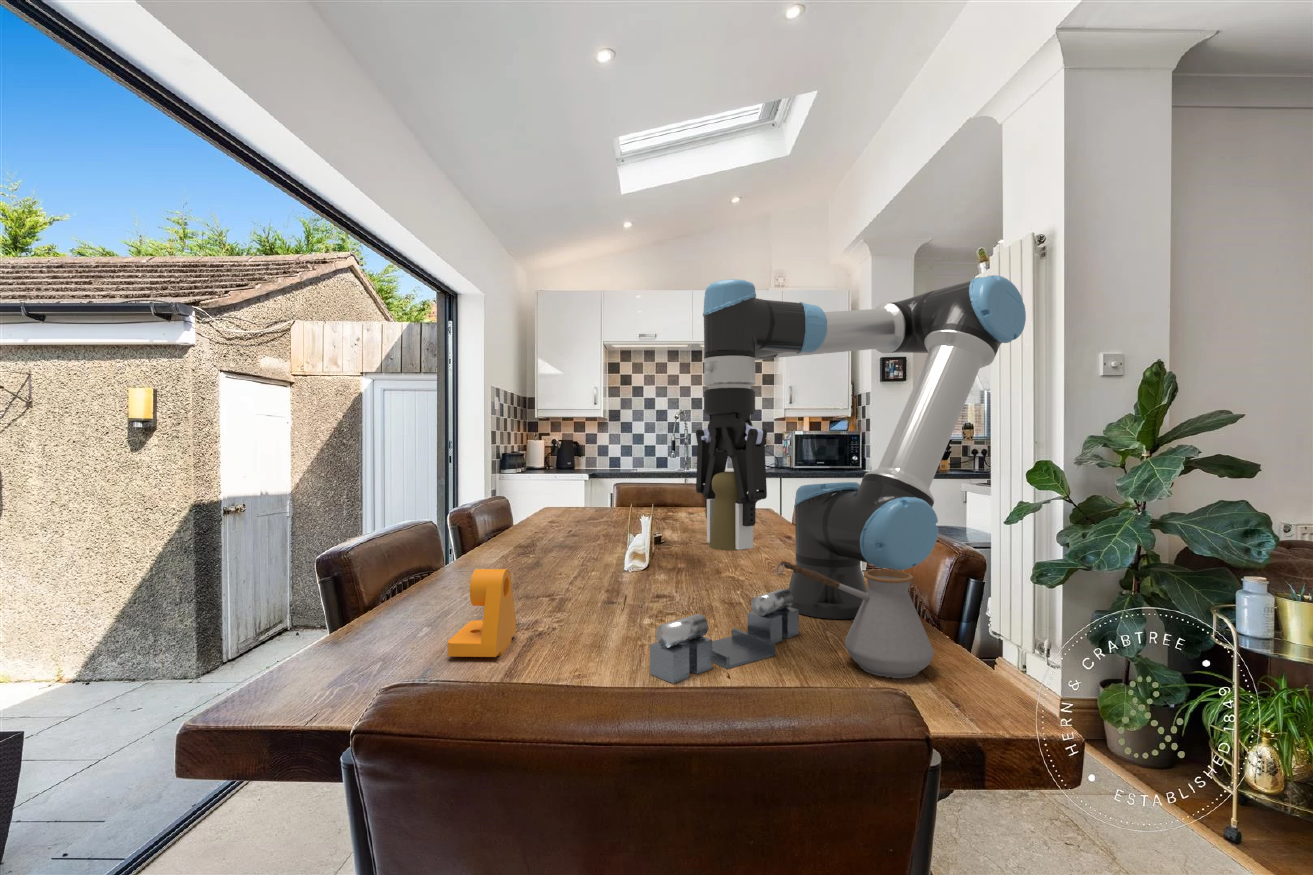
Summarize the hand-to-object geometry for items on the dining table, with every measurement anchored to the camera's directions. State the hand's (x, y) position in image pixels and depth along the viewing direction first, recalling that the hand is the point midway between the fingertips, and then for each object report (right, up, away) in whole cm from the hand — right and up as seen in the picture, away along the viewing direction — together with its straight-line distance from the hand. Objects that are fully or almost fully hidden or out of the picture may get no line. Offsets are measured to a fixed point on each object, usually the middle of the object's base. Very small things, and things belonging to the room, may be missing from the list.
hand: (729, 544), depth 90 cm
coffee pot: (+16, -16, -6) cm, 24 cm away
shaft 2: (+8, -16, +7) cm, 19 cm away
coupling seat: (0, -16, 0) cm, 16 cm away
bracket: (-37, -16, +2) cm, 40 cm away
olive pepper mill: (0, 0, 0) cm, 0 cm away
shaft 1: (-7, -16, -7) cm, 19 cm away
